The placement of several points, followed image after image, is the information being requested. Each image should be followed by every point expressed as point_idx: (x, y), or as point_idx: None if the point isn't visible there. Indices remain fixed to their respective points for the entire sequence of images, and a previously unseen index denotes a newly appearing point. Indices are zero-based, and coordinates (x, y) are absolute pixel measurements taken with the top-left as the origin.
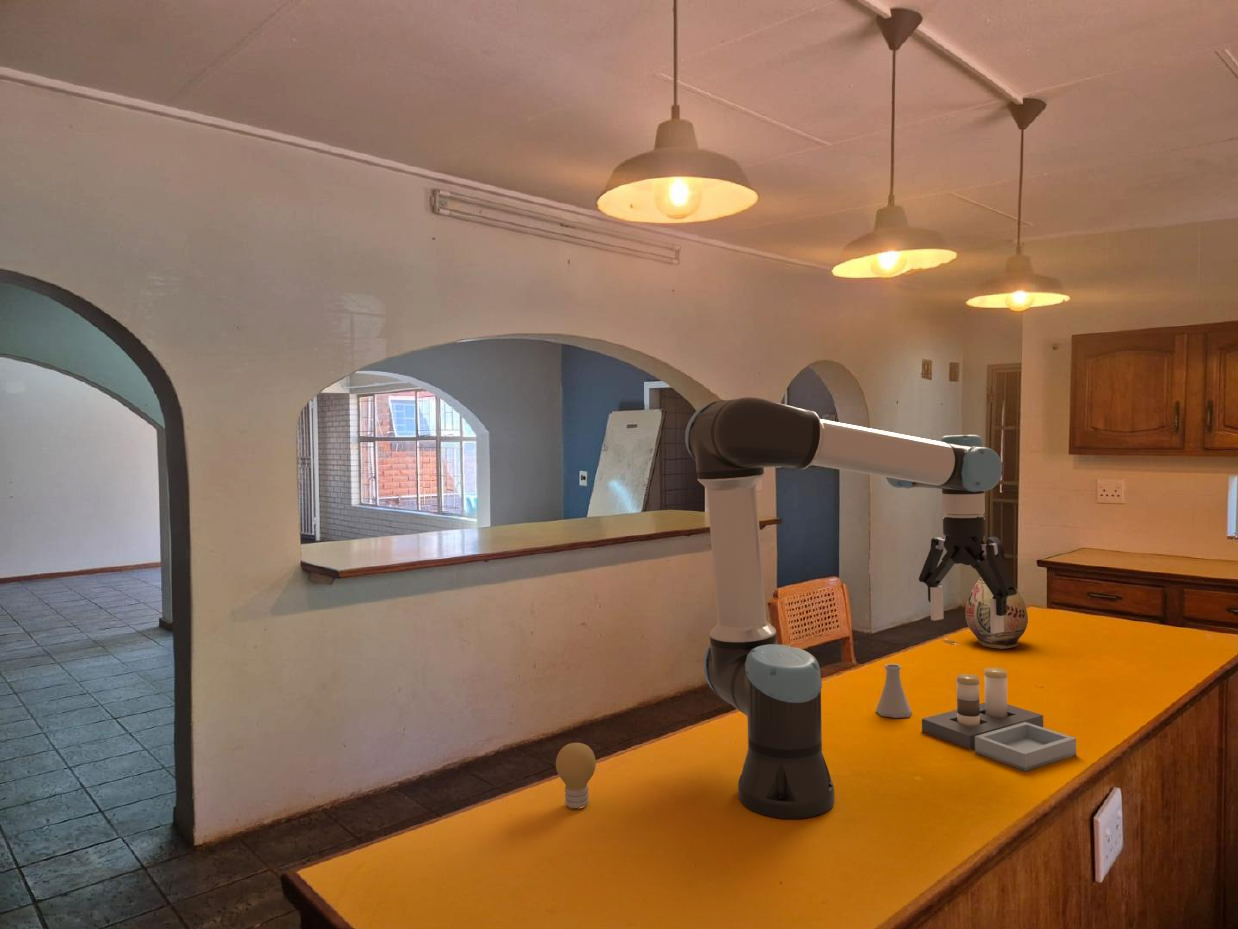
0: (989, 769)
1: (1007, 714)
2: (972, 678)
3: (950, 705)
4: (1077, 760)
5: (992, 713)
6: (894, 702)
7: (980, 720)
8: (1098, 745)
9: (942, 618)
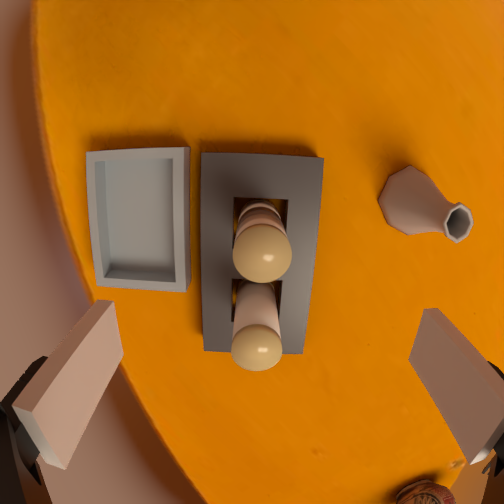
0: (132, 109)
1: None
2: (245, 253)
3: (366, 314)
4: None
5: (250, 287)
6: (408, 186)
7: None
8: (122, 331)
9: (411, 356)
